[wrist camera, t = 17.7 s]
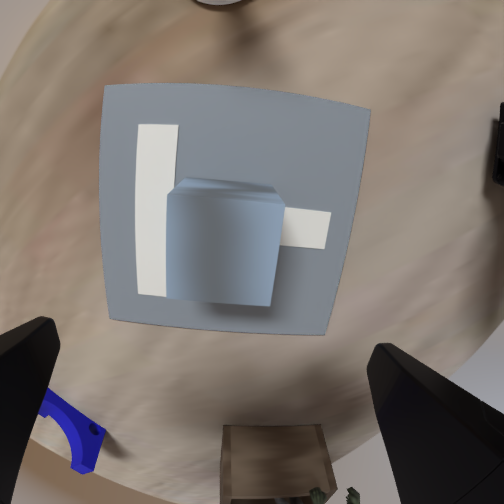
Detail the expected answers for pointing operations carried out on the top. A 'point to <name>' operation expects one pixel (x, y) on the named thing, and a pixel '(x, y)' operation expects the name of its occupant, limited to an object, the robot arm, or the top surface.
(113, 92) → the letter sheet
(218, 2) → the chess piece
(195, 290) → the blue cube
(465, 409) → the robot arm
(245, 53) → the top surface
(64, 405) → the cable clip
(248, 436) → the open brown box
